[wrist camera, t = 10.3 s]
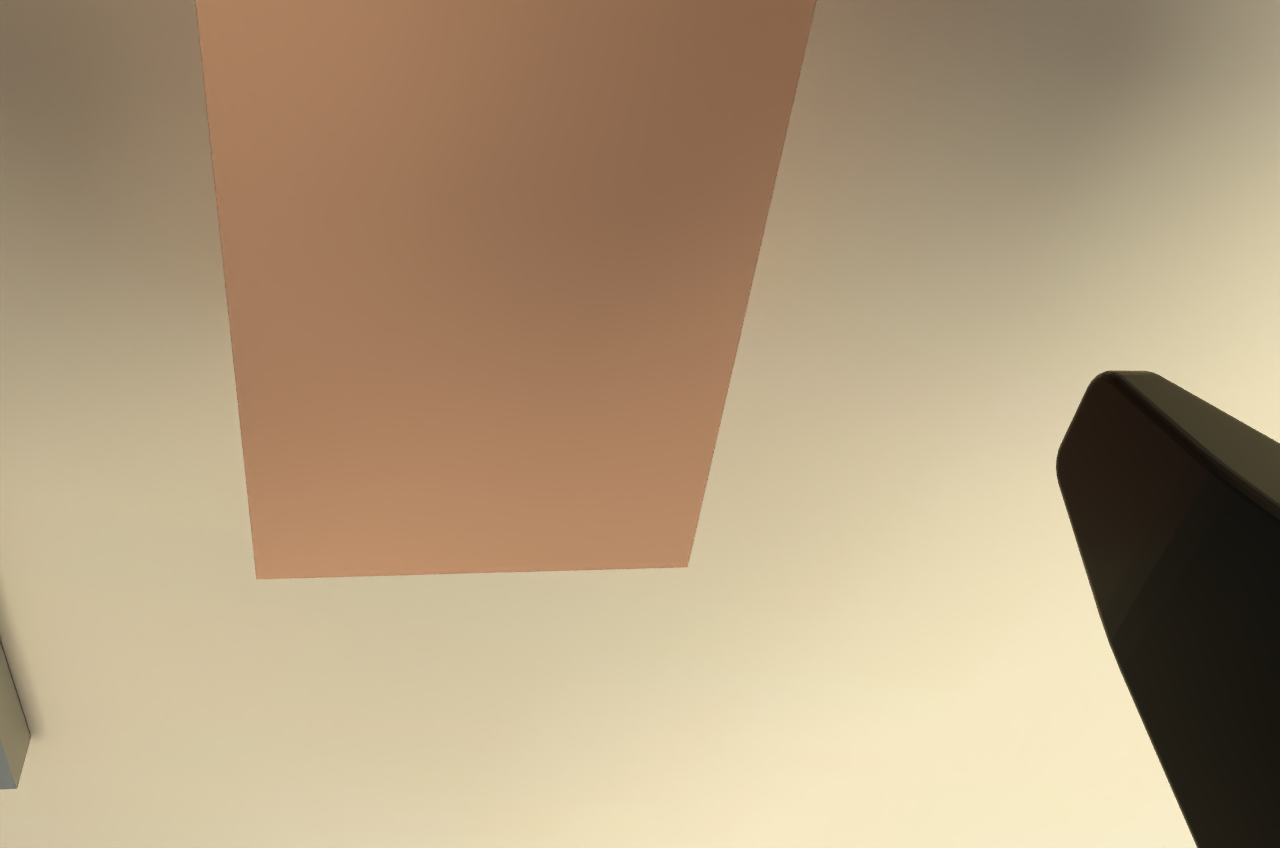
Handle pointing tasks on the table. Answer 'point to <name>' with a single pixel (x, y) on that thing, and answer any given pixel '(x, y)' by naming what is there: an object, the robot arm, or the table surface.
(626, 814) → the table surface
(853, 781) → the table surface
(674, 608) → the table surface
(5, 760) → the baseplate
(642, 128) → the terracotta brick
